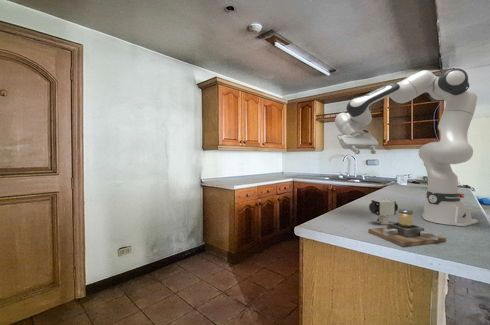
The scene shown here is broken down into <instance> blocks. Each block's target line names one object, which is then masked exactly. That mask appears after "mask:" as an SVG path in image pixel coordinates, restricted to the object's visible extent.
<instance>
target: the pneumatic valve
mask: <svg viewBox="0 0 490 325" xmlns="http://www.w3.org/2000/svg"><path fill="white" fill-rule="evenodd" d="M368 210H369V211H370V212H371V214H373V215H376V223H377V224H380V225H383V226H384V225H387V223H391V221H390V220H391V219H390V217H389V216H392V215H393V216H395V215H396V214H397V211H399V205H398V203H397V202H396V201H395V200H391V199H385V198H381V199H372V200H371V202H370V203H369V205H368Z"/></svg>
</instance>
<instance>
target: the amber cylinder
mask: <svg viewBox="0 0 490 325" xmlns="http://www.w3.org/2000/svg"><path fill="white" fill-rule="evenodd" d="M413 213H414V212H413V210H412V209H405V208H401V209H400V208H398V222H399V227H402V228H405V229H409V228H412V224H413V216H414V215H413Z"/></svg>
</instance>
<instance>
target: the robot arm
mask: <svg viewBox="0 0 490 325" xmlns="http://www.w3.org/2000/svg"><path fill="white" fill-rule="evenodd" d="M469 88H470V83H469V74H468V73H467V72H466V70H464V69H462V68H456V67H455V68H450V69H448V70H446V71H444V72H442V73H441V74H440V75H439V76H438V75H437V76H436V75H435V74H434V73H433V72H432V71H430V70H428V69H427V70H425V69H424V70H421V71H418V72H416V73H413V74H411V75H409V76H408V77H405V78H404V79H403V80H401V81H398V82H390V83H386V84H384V85H382V86H379V87H378V88H376V89H373V90H372V91H369V92H367V93H365V94H363V95H360V96H357V97H354V98H352V99H351V100H349V102H348V103H347V104H346V112H339V113H338V114H337V115H336V117H335V118H334V124H335V126H336V128H337V130H338V131H339V133H341V134H338V135H337V137H336V138H337V139H338V142H339V144H340V146H341V148H342V149H344V150H350V151H352V152H353V153H354V154H355V155H360V153H361V151H360V150H370V154H371V155H376V153H377V151H376V149H377V148H378V146H379V142H378V140H377V139H376V138H375V137H374V136H373V135H372V134H371V131H369V130H366V129H363V128H366V127H368V126H369V125H370V124H371V123H372V121H373V117H372V113H371V111H370V108H369V107H370V106H371V105H372V104H375V103H377V102H379V101H382V100H383V99H386V98H390V99H391V100H392V101H394V102H395V103H399V104H405V103H409V102H410V101H412V100H413V99H415V98H417V97H420V96H421V95H422V94H424V96H426V97H427V98H428V99H430V100H431V101H432V102H439V103H440V102H444V101H445V107H444V108H443V112H442V115H441V117H440V120H439V121H438V125H437V130H438V131H439V132H440V138H439V139H440V140H439V141H433V142H432V141H431V142H428V143H426V144H423V145H422V146H421V147H420V148H419V150H418V157H419V158H420V159H421V160H422V162H423V164H424V166H425V170H426V174H427V190H426V195H425V196H426V197H425V198H426V200H425V201H424V207H423V213H422V214H421V217H422V219H423V220H425V221H428V222H431V223H437V224H439V225H440V224H441V225H449V226H450V225H451V226H457V227H466V226H470V225H475V224H479V220H477V219H476V218H472V210H471V209H470V208H469V207H468V206H467V205H465V204H464V203H463V202H462V201H461V199H464V198H465V194H464V193H459V192H458V189H459V188H458V187H459V186H458V185H459V177H458V175H457V174H456V173H455V172H454V171H453V169H452V166H451V165H458V164H463V163H467V162H468V161H470V159H471V158H472V157H473V155H474V149H473V147H472V145H471V144H470V143H469V141H468V133H469V129H470V126H471V125H470V124H471V122H472V120H473V117H474V114H475V111H476V107H477V101H478V96H477V94H476V93H475V92H473V91H470V90H468V89H469Z"/></svg>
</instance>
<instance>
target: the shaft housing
mask: <svg viewBox="0 0 490 325" xmlns="http://www.w3.org/2000/svg"><path fill="white" fill-rule="evenodd" d="M368 233H369V234H371V235H373V236H375V237H378V238H381V239H384V240H385V241H388V242H390V243H392V244H395V245H397V246H400V247H403V248H406V247H407V248H408V247H413V246H415V247H416V246H422V245H423V246H424V245H430V244H439V243H446V242H447V237H445V236H442V235H439V233H435V232H429V231H426V230H425V227H424V226H423V227H422V226H419V225H416V224H413V223H412V228H409V229H405V228H402V227H399V221H397V222H389V223H387V224H386V226H383V227H373V228H368Z"/></svg>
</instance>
